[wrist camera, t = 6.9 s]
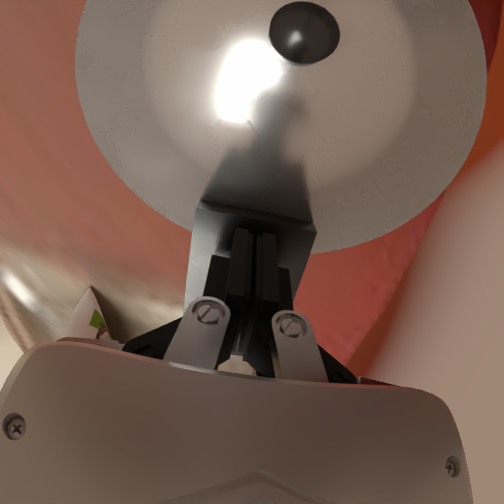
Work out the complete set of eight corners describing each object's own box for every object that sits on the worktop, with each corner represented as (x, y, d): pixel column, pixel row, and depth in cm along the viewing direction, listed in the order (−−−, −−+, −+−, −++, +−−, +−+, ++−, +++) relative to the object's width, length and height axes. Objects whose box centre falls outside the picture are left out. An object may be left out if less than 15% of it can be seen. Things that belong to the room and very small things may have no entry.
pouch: (97, 357, 48) (64, 452, 31) (72, 280, 37) (7, 401, 20) (137, 367, 48) (109, 469, 32) (122, 292, 37) (66, 429, 21)
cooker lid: (148, -117, 4) (134, -138, 2) (488, -26, 6) (515, -33, 4) (81, 296, 17) (64, 322, 15) (369, 346, 19) (380, 375, 16)
